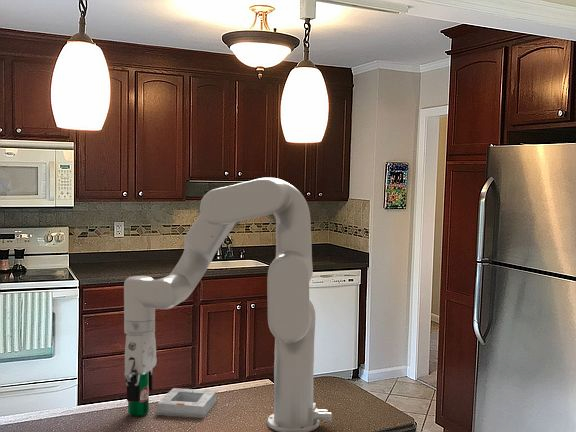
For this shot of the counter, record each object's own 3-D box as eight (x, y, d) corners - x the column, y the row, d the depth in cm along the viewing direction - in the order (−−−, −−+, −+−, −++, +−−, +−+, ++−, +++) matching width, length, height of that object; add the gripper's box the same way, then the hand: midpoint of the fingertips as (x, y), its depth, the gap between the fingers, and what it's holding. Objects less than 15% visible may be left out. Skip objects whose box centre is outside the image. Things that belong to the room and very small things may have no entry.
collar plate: (216, 401, 167) (216, 389, 167) (203, 418, 155) (203, 405, 155) (173, 399, 169) (173, 387, 168) (157, 415, 157) (157, 402, 157)
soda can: (143, 418, 155) (143, 370, 154) (124, 416, 156) (124, 369, 155) (152, 411, 159) (151, 364, 159) (133, 409, 160) (133, 363, 160)
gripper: (140, 334, 147) (141, 408, 148) (166, 319, 164) (166, 385, 165) (110, 333, 148) (111, 406, 149) (138, 318, 165) (139, 383, 166)
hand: (140, 395), depth 157 cm, fingers open, 7 cm apart
